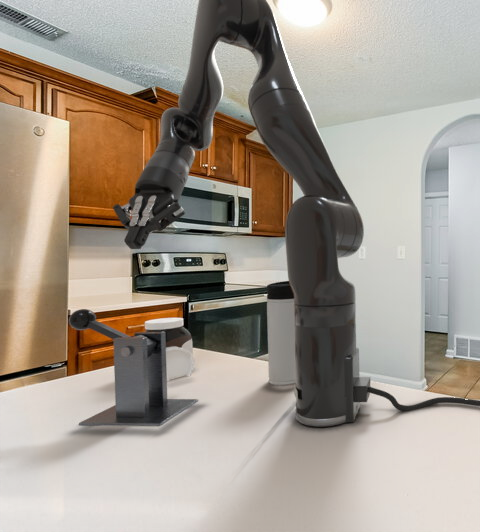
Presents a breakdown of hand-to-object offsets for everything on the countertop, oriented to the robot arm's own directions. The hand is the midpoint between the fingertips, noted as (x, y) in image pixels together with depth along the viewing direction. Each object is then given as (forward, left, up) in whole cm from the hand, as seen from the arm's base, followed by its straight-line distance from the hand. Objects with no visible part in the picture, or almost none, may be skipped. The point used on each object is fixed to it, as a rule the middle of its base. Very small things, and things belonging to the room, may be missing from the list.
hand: (132, 246), depth 66 cm
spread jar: (0, -9, -27) cm, 28 cm away
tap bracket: (-8, +10, -27) cm, 30 cm away
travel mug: (-25, -5, -27) cm, 37 cm away
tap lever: (-3, +10, -15) cm, 18 cm away
